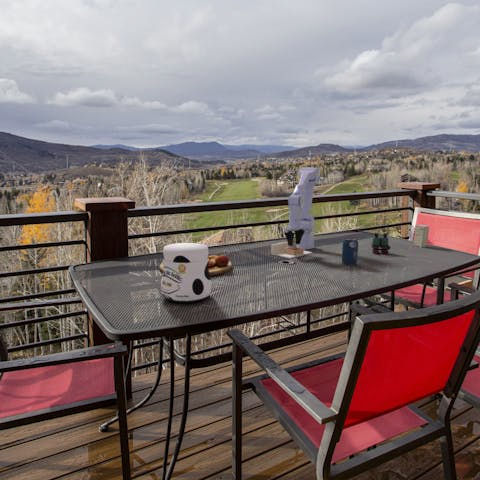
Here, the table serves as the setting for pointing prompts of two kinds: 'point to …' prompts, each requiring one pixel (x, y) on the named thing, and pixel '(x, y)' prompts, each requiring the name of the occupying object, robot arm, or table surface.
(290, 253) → the cup bracket
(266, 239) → the table surface
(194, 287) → the milk container
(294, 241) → the beige cylinder
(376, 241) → the binoculars
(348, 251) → the soda can
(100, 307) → the table surface
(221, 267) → the wooden plate with food
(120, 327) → the table surface
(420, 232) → the skincare box
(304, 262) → the table surface
